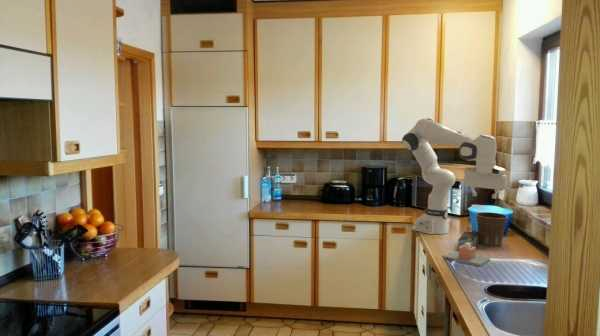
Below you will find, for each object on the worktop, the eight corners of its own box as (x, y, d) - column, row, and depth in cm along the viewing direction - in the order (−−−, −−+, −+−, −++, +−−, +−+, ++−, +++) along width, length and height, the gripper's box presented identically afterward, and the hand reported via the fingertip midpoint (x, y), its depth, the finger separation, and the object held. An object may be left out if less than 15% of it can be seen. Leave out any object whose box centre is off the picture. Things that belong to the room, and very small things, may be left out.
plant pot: (491, 238, 264) (492, 211, 262) (512, 245, 249) (514, 216, 247) (468, 241, 258) (469, 213, 257) (489, 248, 243) (490, 219, 241)
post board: (444, 258, 227) (444, 242, 226) (454, 253, 235) (455, 237, 234) (480, 266, 214) (481, 249, 213) (490, 260, 223) (491, 244, 222)
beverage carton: (457, 250, 242) (457, 237, 241) (463, 241, 258) (464, 230, 258) (473, 252, 238) (473, 239, 237) (478, 243, 254) (479, 231, 254)
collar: (458, 257, 225) (458, 247, 224) (463, 254, 229) (464, 244, 228) (470, 259, 221) (470, 249, 220) (475, 257, 225) (475, 247, 224)
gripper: (461, 167, 225) (460, 195, 226) (504, 171, 211) (503, 200, 212) (467, 166, 229) (466, 193, 231) (509, 169, 215) (508, 198, 217)
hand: (484, 197), depth 222 cm, fingers open, 8 cm apart
